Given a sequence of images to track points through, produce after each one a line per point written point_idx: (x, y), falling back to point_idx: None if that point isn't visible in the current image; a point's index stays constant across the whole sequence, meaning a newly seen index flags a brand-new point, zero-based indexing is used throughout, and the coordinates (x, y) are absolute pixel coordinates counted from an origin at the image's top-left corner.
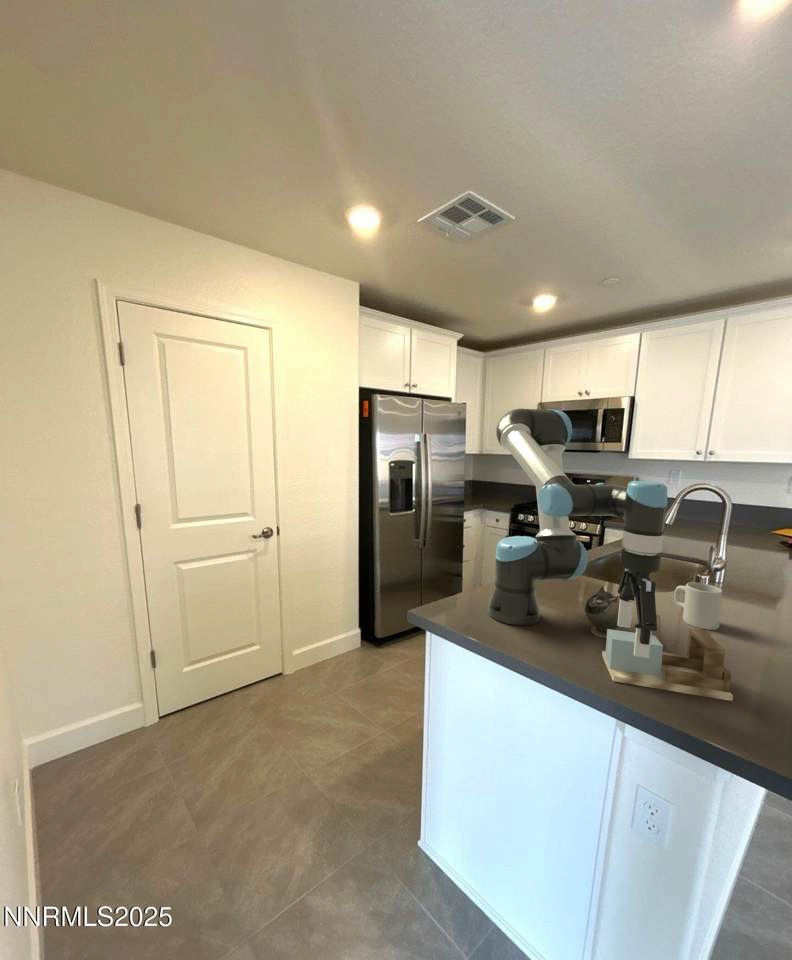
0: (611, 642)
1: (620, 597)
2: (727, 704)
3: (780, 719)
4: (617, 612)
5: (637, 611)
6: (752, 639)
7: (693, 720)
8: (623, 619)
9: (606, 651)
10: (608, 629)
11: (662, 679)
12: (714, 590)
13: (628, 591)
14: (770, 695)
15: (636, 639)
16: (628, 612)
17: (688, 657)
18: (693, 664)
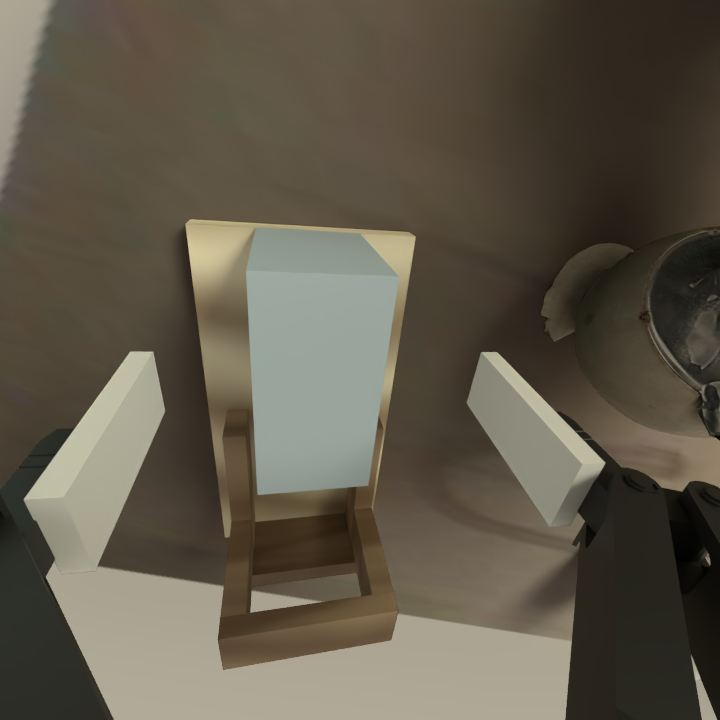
0: (260, 262)
1: (623, 481)
2: (203, 511)
3: (186, 577)
4: (624, 384)
5: (32, 643)
6: (533, 602)
7: (46, 421)
8: (496, 398)
9: (350, 240)
10: (394, 283)
11: (242, 402)
12: (693, 661)
13: (596, 617)
14: (291, 582)
15: (85, 418)
16: (514, 450)
17: (356, 509)
18: (349, 503)
